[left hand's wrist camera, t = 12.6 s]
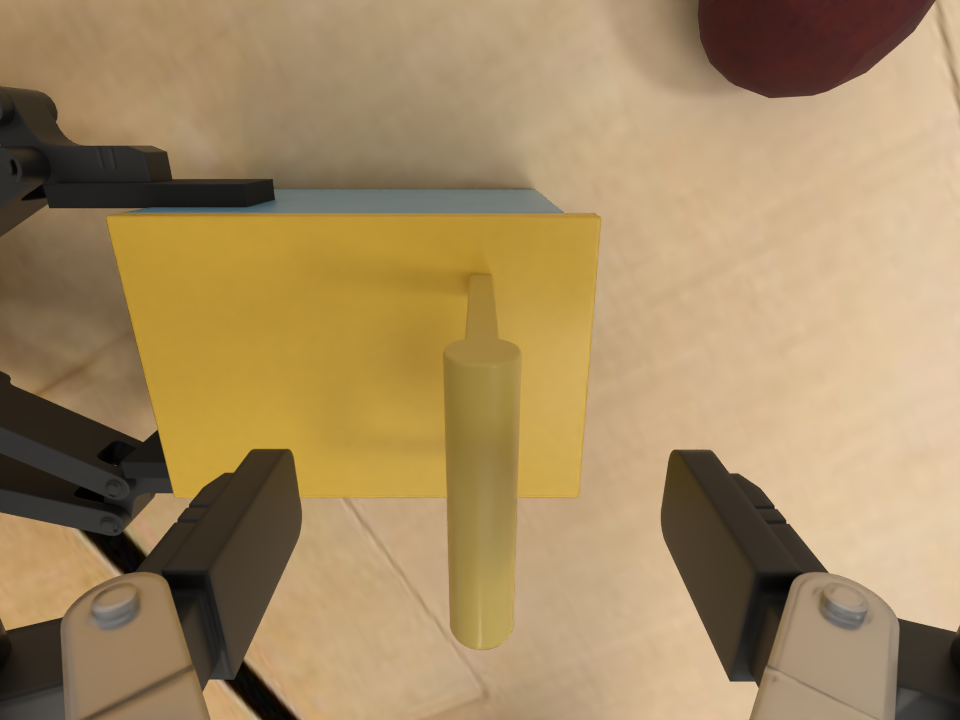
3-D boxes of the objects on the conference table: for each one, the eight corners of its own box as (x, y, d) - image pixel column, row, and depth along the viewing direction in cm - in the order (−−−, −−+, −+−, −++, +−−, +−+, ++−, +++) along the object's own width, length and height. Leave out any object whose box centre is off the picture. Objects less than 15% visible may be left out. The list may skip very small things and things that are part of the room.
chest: (535, 188, 25) (565, 212, 17) (528, 380, 29) (550, 484, 20) (246, 188, 25) (123, 212, 17) (275, 380, 29) (186, 484, 20)
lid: (596, 212, 17) (701, 274, 9) (575, 484, 20) (636, 701, 12) (121, 212, 17) (-201, 274, 9) (185, 484, 20) (-2, 701, 12)
